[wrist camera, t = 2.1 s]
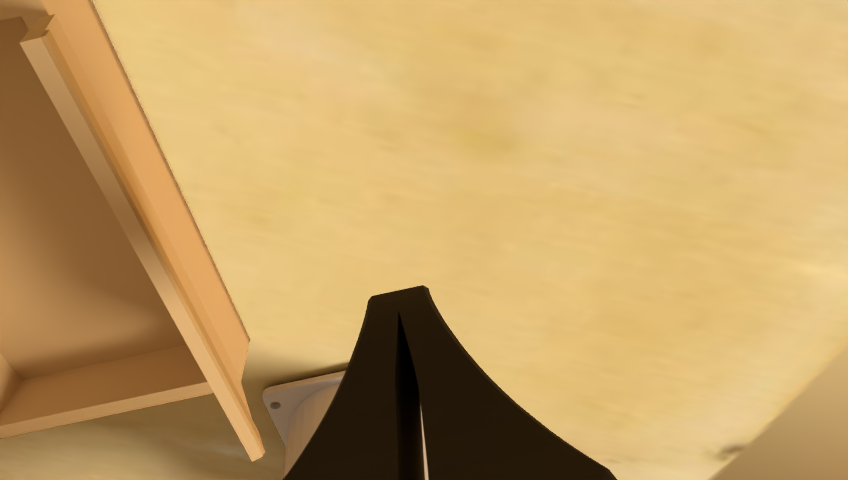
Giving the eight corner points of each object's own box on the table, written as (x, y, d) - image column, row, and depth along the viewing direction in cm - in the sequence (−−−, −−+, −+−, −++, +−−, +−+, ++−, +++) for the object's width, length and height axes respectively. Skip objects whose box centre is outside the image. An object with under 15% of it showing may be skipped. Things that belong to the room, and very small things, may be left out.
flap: (229, 380, 23) (241, 375, 23) (252, 461, 19) (266, 454, 20) (39, 17, 15) (58, 12, 15) (19, 42, 12) (45, 36, 12)
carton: (249, 339, 26) (239, 387, 24) (19, 388, 26) (-16, 442, 24) (77, -31, 17) (32, -17, 15) (-271, 40, 17) (-375, 67, 15)
